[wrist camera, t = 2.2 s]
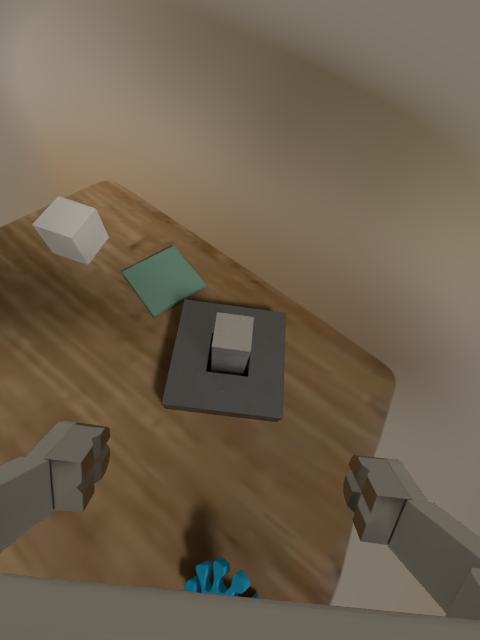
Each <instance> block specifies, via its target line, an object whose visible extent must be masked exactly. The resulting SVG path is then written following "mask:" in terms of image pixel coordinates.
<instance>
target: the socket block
mask: <svg viewBox="0 0 480 640" xmlns="http://www.w3.org/2000/svg"><path fill="white" fill-rule="evenodd" d="M217 312H219V313H227V314H234V315H242V316H249V317H254V322H253V333H252V344H251V353H250V355H249V358H248V362H247V373H246V377H245V376H238V375H230V374H222V373H214V372H207V370H208V363H209V357H210V351H211V344H212V342H213V335H214V329H215V322H216V316H217ZM285 328H286V313H283V312H276V311H268V310H261V309H253V308H246V307H238V306H231V305H223V304H216V303H208V302H201V301H193V300H186V299H184V304H183V309H182V313H181V318H180V322H179V327H178V331H177V336H176V340H175V345H174V350H173V354H172V359H171V363H170V368H169V372H168V377H167V381H166V386H165V391H164V395H163V400H162V405H163V406H164V408H165V409H173V410H181V411H190V412H198V413H206V414H215V415H223V416H231V417H239V418H248V419H256V420H264V421H273V422H278V421H279V420H281V419H282V417H283V387H284V357H285Z"/></svg>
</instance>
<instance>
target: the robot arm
mask: <svg viewBox="0 0 480 640" xmlns="http://www.w3.org/2000/svg"><path fill="white" fill-rule="evenodd" d="M109 438H110V429H109V428H108V427H106V426H99V425H92V424H85V423H75V422H68V421H60V422H58V423H57V424H56V425H55V426H54V427H53V428H52V429H51V430H50V431H49V432H48V433H47V434H46V436H45V437H44V438H43V439H42V440H41V441H40V442H39V443H38V444H37V445H36V446H35V447H34V448H33V449H32V450H31V451H30V452H29V453H28V455H27V456H26V457H18V458H16V459H14V460H12V461H10V462H8V463H5V464H3V465H1V466H0V553H1V552H2V551H3V550H4V549H6V548H7V547H8V546H10V545H11V544H12V543H13V542H15V541H16V540H17V539H19V538H20V537H21V536H22V535H24V534H25V533H26V532H28V531H29V530H30V529H31V528H33V527H34V526H35V525H37V524H38V523H39V522H40V521H42V520H43V519H44V518H46V517H47V516H48V515H49V514H51V513H52V512H53V510H65V511H78V512H83V511H84V510H85V508H86V506H87V504H88V503H89V501H90V499H91V497H92V495H93V494H94V484H95V483H97V482H98V481H100V480H101V479H102V477H103V476H104V474H105V472H106V469H107V466H108V463H109V458H110V448H109V446H108V445H107V444H106V443H107V441H108V440H109ZM349 466H350V468H351V471H350V472H349V473H347V474H346V476H345V479H344V491H343V492H344V497H345V501H346V504H347V506H348V507H349V508H350V509H351V510H352V511H353V512H354V513H355V514H354V517H353V523H354V525H355V528H356V530H357V533H358V536H359V538H360V541H363V542H370V543H378V544H384V545H389V546H388V547H389V548H390V549H391V550H392V551H393V553H394V554H395V555H396V556H397V557H398V558H399V560H400V561H401V562H402V563H403V564H404V565H405V567H406V568H407V569H408V570H409V571H410V572H411V573H412V575H413V576H414V577H415V578H416V579H417V580H418V581H419V583H420V584H421V585H422V586H423V587H424V588H425V590H426V591H427V592H428V593H429V594H430V595H431V596H432V598H433V599H434V600H435V601H436V602H437V603H438V604H439V606H440V607H441V608H442V609H443V610H444V611H445V613H446V616H445V617H443V616H433V615H423V614H413V613H402V612H392V611H381V610H372V609H361V608H351V607H340V606H330V605H320V604H309V603H299V602H289V601H278V600H268V599H258V598H248V597H238V596H228V595H218V594H207V593H197V592H187V591H177V590H167V589H157V588H147V587H137V586H126V585H116V584H106V583H96V582H86V581H76V580H65V579H55V578H45V577H35V576H25V575H14V574H4V573H0V640H480V537H479V536H478V535H476V534H475V533H474V532H472V531H471V530H470V529H468V528H467V527H466V526H464V525H463V524H461V523H460V522H459V521H457V520H456V519H455V518H453V517H452V516H451V515H449V514H448V513H447V512H446V511H444V510H443V509H442V508H440V507H439V506H438V505H436V504H435V503H432V502H428V500H427V498H426V497H425V496H424V494H423V493H422V491H421V490H420V488H419V487H418V485H417V484H416V482H415V481H414V480H413V478H412V476H411V475H410V473H409V472H408V471H407V469H406V468H405V466H404V465H403V463H402V462H401V461H399V460H398V459H388V458H375V457H366V456H357V455H353V457H352V458H351V460H350V463H349Z"/></svg>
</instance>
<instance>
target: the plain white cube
mask: <svg viewBox="0 0 480 640" xmlns="http://www.w3.org/2000/svg"><path fill="white" fill-rule="evenodd" d="M32 226H33V227H34V228H35V230H36V231H37V232H38V234H39V235H40V236H41V238H42V239H43V240H44V242H45V243H46V244H47V246H48V247H49V248H50V250H51V251H52V253H55V254H57V255H60V256H63V257H66V258H69V259H72V260H75V261H78V262H81V263H83V264H86V265H89V263H90V262H91V261H92V259H93V258H94V256H95V255H96V254H97V252H98V251H99V250H100V248H101V247H102V246H103V244H104V243H105V242H106V240H107V239H108V238H109V237H108V235H107V232H106V230H105V228H104V226H103V223H102V221H101V219H100V217H99V215H98V212H97V210H96V208H93V207H90V206H86V205H83V204H80V203H77V202H74V201H71V200H68V199H65V198H62V197H59V196H58V197H57V198H56V199H55V200H54V201H53V202H52V203H51V205H50V206H49V207H48V208H47V209H46V210H45V211H44V212H43V213H42V214H41V215H40V216H39V217H38V218H37V219H36V221H35V222H34V223H33V224H32Z"/></svg>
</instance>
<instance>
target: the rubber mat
mask: <svg viewBox="0 0 480 640" xmlns="http://www.w3.org/2000/svg"><path fill="white" fill-rule="evenodd" d="M122 274H123V275H124V277H125V278H126V279H127V281H128V282H129V284H130V285H131V286H132V288H133V289H134V290H135V292H136V293H137V295H138V296H139V297H140V299H141V300H142V301H143V303H144V304H145V306H146V307H147V308H148V310H149V311H150V312H151V314H152V315H153V317H155V316H157V315H159V314H160V313H162V312H164V311H166V310H167V309H169V308H171V307H172V306H174V305H176V304H178V303H179V302H181V301H183V300H184V299H186V298H188V297H189V296H191V295H193V294H195V293H196V292H198V291H200V290H201V289H203V288H205V287H206V284H205V282H204V281H203V280H202V279H201V278H200V277H199V275H198V274H197V273H196V272H195V271H194V269H193V268H192V267H191V266H190V265H189V263H188V262H187V261H186V260H185V259H184V257H183V256H182V255H181V254H180V253H179V252H178V250H177V249H176V248H175V247H174V246H172V247H170V248H168V249H166V250H164V251H162V252H160V253H158V254H156V255H154V256H152V257H150V258H148V259H146V260H144V261H142V262H140V263H138V264H136V265H134V266H132V267H130V268H128V269H126V270H124V271H122Z"/></svg>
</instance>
